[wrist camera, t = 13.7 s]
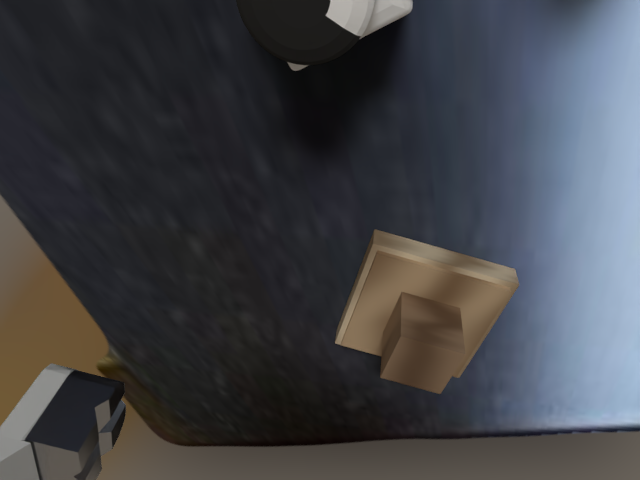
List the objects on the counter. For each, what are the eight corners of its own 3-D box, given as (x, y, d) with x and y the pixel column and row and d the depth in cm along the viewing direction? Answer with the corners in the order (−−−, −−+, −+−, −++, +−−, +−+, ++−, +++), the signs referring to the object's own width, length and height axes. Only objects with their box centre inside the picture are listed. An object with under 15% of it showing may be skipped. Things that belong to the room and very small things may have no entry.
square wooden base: (515, 269, 42) (520, 289, 40) (457, 361, 49) (459, 382, 47) (374, 229, 41) (372, 247, 39) (337, 327, 49) (334, 347, 47)
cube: (460, 308, 42) (465, 354, 38) (437, 347, 45) (440, 394, 41) (401, 291, 42) (400, 336, 38) (382, 332, 45) (380, 377, 41)
